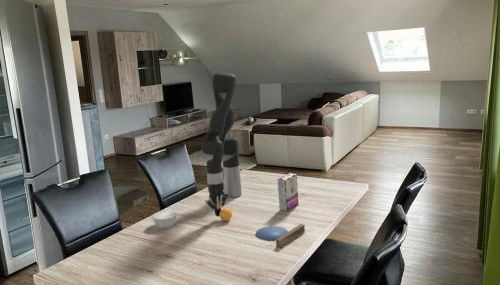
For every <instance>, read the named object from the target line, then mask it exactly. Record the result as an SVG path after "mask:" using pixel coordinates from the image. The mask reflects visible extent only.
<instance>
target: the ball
mask: <svg viewBox="0 0 500 285" xmlns="http://www.w3.org/2000/svg"><path fill="white" fill-rule="evenodd" d="M232 212H233V211H232V210H231V209H230V208H228V207H224V208H221V211H220V214H219V215H220V216H219V218H220V220H222V221H224V222H228V221H230V220H231V219H232V217H233V213H232Z"/></svg>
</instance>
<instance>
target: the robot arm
mask: <svg viewBox="0 0 500 285" xmlns="http://www.w3.org/2000/svg"><path fill="white" fill-rule="evenodd" d="M211 80H212V83H211V84H212V92H213V96H214V101H215V102H214V103H215V110H214V111H213V113H212V114H211V117H210V120H209V125H208V130H207V131H206V133H205V136H204V137H203V140H202V141H201V151H202V153H203V154H204V155H212V159H207V161H206V181H207V182H206V183H207V191H208V193H209V195H208V199H206V200H205V203H206V205H207V206H208V207H209V208H210V209H212V210H214V215H215V216H216V217H219V218H220V215H219V214H220V211H221V210H222V207H224V205H225V204H226V201H227V199H228V198H238V197H240V196H242V194H243V193H242V183H241V182H242V181H241V166H240V158H239V156H240V155H239V153H240V152H239V139H238V137H236V136H231V137H226V136H227V134H228V132H229V131H230V130H231V129H232V128H233V126H234V125H235V124H234V123H235V111H234V110H235V109H234V107H233V106H232V105H231V104H232V102H233V98H234V95H235V92H236V89H237V83H238V81H237V76H236V75H235V74H232V73H224V72H216V73H214V74H213V77H212V79H211ZM224 94H226V95H224ZM217 137H218V139H217ZM224 155H231V156H230V157H228V158H226V159H224V160H223V156H224Z"/></svg>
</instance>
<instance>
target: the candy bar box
mask: <svg viewBox="0 0 500 285" xmlns="http://www.w3.org/2000/svg"><path fill="white" fill-rule="evenodd" d="M298 189H299V188H298V175H297V173H291V172H289V173H287V174H285V175H283V176H281V177H279V178H277V191H278V204H279V205H278V206H279V210H280V211H282V212H289V211H290V210H292V209H293V208H296V207H297V206H299V205H300V203H299V192H298Z"/></svg>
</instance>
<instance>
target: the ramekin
mask: <svg viewBox="0 0 500 285" xmlns="http://www.w3.org/2000/svg"><path fill="white" fill-rule="evenodd" d="M152 219H153V223H154V225H155V227H156V228H157V229H168V228H169V229H170V228H171V227H174V226H175V224H176V223H177V212H176V211H174V210H170V209H167V210H161V211H158V212H155V213H154V214H152Z"/></svg>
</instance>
